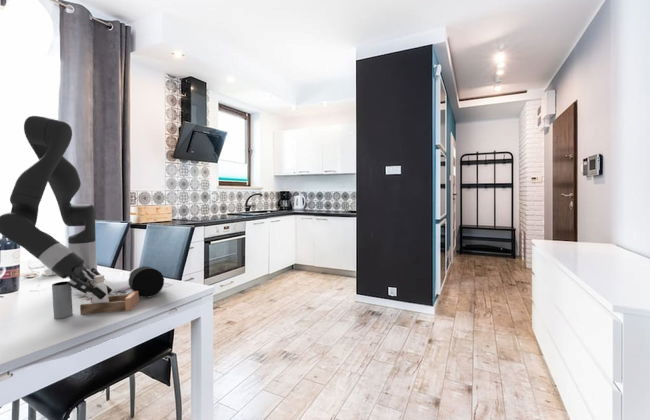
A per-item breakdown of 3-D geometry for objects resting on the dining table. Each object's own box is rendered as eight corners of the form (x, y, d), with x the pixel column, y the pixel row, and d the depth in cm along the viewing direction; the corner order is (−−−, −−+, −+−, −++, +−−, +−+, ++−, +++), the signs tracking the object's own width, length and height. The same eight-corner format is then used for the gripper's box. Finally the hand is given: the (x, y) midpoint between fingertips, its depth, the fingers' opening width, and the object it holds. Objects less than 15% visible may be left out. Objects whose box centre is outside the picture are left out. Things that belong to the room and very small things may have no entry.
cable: (142, 288, 142) (153, 266, 145) (156, 300, 115) (169, 273, 118) (117, 281, 136) (129, 258, 139) (126, 292, 109) (140, 264, 112)
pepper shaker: (94, 313, 101) (93, 278, 100) (87, 309, 104) (85, 276, 103) (113, 307, 105) (112, 275, 105) (106, 304, 108) (104, 272, 108)
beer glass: (38, 276, 147) (36, 243, 146) (50, 272, 154) (48, 241, 153) (54, 275, 147) (52, 243, 146) (65, 271, 154) (63, 241, 153)
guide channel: (80, 314, 100) (79, 301, 100) (92, 305, 108) (91, 294, 107) (130, 310, 103) (130, 298, 103) (138, 302, 111) (138, 290, 111)
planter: (54, 315, 99) (52, 283, 99) (72, 312, 102) (71, 280, 101) (53, 320, 96) (51, 286, 95) (72, 316, 98) (70, 283, 98)
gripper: (58, 256, 95) (106, 292, 98) (82, 248, 109) (123, 280, 112) (38, 275, 94) (87, 311, 98) (65, 264, 108) (107, 296, 111)
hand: (106, 294), depth 105 cm, fingers closed on pepper shaker, 4 cm apart
